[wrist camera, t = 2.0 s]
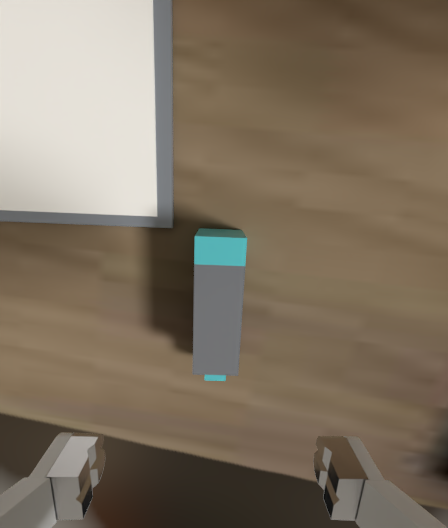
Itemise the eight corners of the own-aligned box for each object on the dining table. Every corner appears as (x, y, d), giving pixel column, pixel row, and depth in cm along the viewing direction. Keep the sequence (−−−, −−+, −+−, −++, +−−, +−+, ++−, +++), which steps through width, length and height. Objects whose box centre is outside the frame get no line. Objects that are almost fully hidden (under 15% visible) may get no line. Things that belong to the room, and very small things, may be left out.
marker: (199, 228, 22) (194, 235, 18) (241, 230, 22) (247, 238, 18) (197, 358, 25) (192, 391, 21) (234, 359, 26) (236, 392, 21)
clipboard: (171, -140, 16) (166, -175, 15) (173, 227, 22) (170, 229, 21) (-91, -161, 16) (-125, -199, 14) (-20, 219, 22) (-39, 221, 20)
